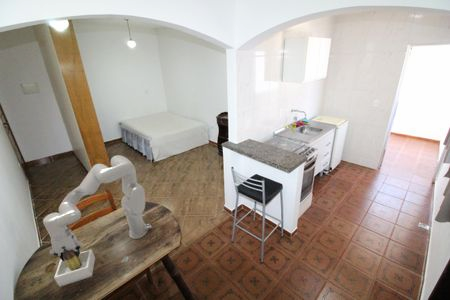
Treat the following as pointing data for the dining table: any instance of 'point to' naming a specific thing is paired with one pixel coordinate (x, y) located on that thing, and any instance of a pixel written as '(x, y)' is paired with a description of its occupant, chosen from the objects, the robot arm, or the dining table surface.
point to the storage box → (68, 276)
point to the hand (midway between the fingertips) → (71, 256)
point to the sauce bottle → (71, 259)
